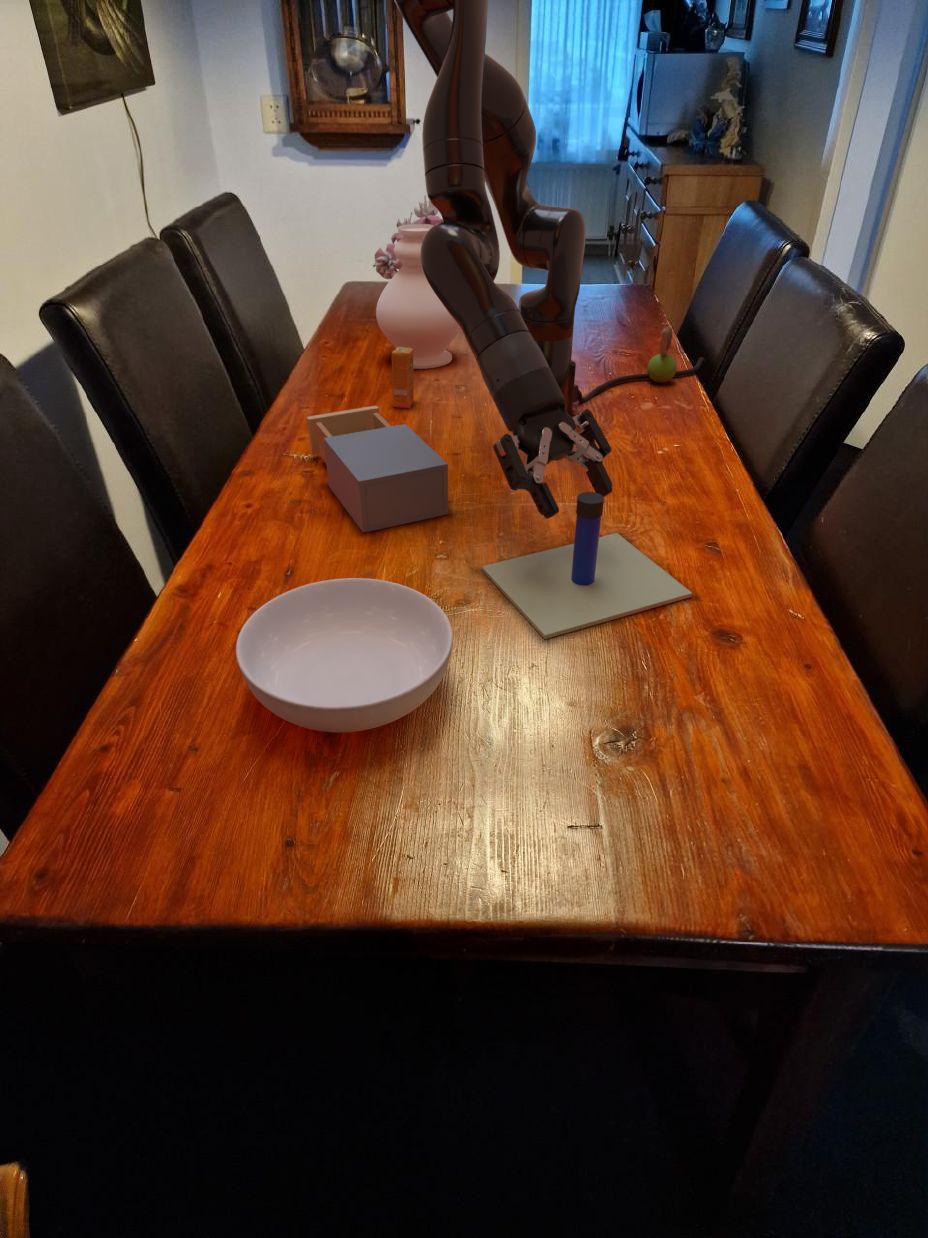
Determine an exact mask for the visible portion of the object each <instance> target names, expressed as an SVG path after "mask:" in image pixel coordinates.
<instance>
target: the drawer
mask: <svg viewBox="0 0 928 1238" xmlns="http://www.w3.org/2000/svg"><path fill="white" fill-rule="evenodd" d="M306 423H307V432H308V441H309V450H310V453H311V454H312V455H319V457H320V458H321V459H322V461H323V462H324V463H325V464H326V457H325V447H324V439H323V438H327V437H333V436H338V435H344V434H350V433H356V432H361V431H367V430H373V429H379V428H384V427H390V426H392V425H391V424H390V423H389V422H388V421H387V420H386V419H385V418H384V417H383V416H382V415H381V414H380V408H379V407H378V405H370V406H366V407H358V408H352V409H346V410H345V409H344V410H340V411H334V412H327V413H322V414H316V415H309V416H306Z"/></svg>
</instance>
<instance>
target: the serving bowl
mask: <svg viewBox="0 0 928 1238" xmlns="http://www.w3.org/2000/svg"><path fill="white" fill-rule="evenodd" d="M453 644H454V633H453V627H452V624H451V621H450V620H449V618H448V616H447V614H446V613H445V611H444V610H443V609H442V608H441V607H440V605H439V604H437V603H436V602H435V601H434V600H433V599H431V598H430V597H429V596H427V595H425V594H424V593H422V592H420V591H418V590H416V589H414V588H411V587H409V586H406V585H403V584H400V583H396V582H393V581H390V580H389V581H388V580H383V579H377V578H367V577H345V578H333V579H326V580H321V581H315V582H311V583H307V584H304V585H301V586H298V587H295V588H292V589H290V590H288V591H285V592H283V593H281V594H279V595H277V596H275V597H274V598H272V599H270V600H268V601H267V602H265V603H264V604H263V605H261V606H260V607H259V608H258V609H256V611H254V612H253V613H252V614H251V615H250V617H248V618H247V620H246V621H245V622H244V624H243V626H242V627H241V629H240V631H239V634H238V636H237V638H236V644H235V657H236V658H235V659H236V663H237V665H238V666H237V667H238V668H239V671H240V674H241V675H242V678H243V680H244V682H245V684H246V686H247V687H248V689H249V690H250V692H251V693H252V695H253V696H254V697H255V699H257V701H258V702H259V703H260V704H261V705H262V706H263V707H264V708H266V709H267V710H268V711H270V712H271V713H272V714H274V715H276V716H277V717H278V718H280V719H282V720H284V721H285V722H286V721H287V722H288V723H290V724H293V725H296V726H299V727H300V728H304V729H308V730H313V731H318V732H319V731H320V732H326V733H355V732H362V731H367V730H371V729H375V728H379V727H382V726H385V725H389V724H390V723H393V722H395V721H397V720H399V719H401V718H403V717H405V716H406V715H408V714H410V713H411V712H413V711H414V710H416V709H417V708H418V707H420V706H421V705H422V704H423V703H424V702H425V701H426V700H428V698H429V697H430V696H431V695H432V694H433V693H434V692H435V691H436V689H437V688H438V686H439V685H440V683H441V682H442V681H443V678H444V677H445V674H446V672H447V669H448V667H449V664H450V660H451V656H452V651H453V647H454V646H453Z"/></svg>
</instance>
